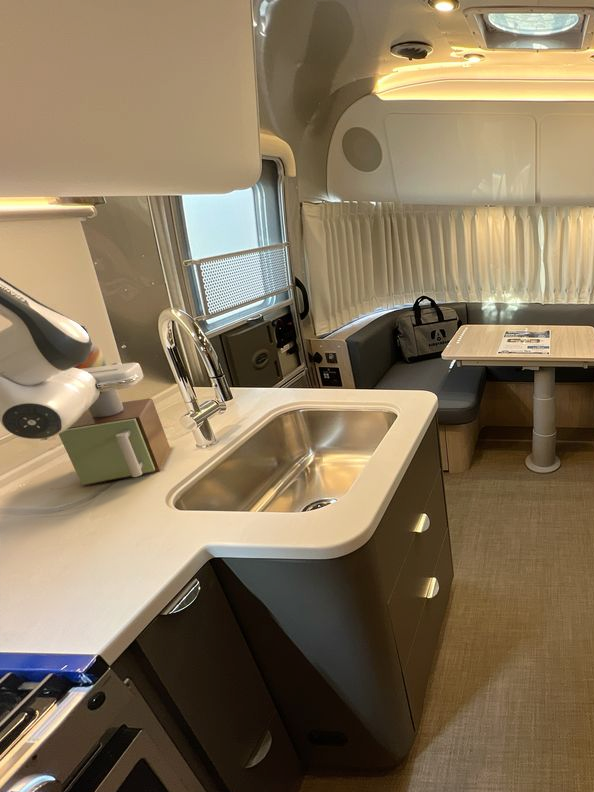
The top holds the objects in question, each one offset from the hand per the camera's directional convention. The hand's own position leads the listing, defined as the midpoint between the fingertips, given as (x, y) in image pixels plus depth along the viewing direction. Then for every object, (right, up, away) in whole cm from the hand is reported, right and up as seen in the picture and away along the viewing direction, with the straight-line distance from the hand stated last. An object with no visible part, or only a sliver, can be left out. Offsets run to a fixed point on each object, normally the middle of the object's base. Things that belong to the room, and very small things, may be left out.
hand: (91, 369), depth 105 cm
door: (+5, -25, +1) cm, 25 cm away
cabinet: (+1, -22, +9) cm, 24 cm away
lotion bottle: (+1, -10, +3) cm, 10 cm away
